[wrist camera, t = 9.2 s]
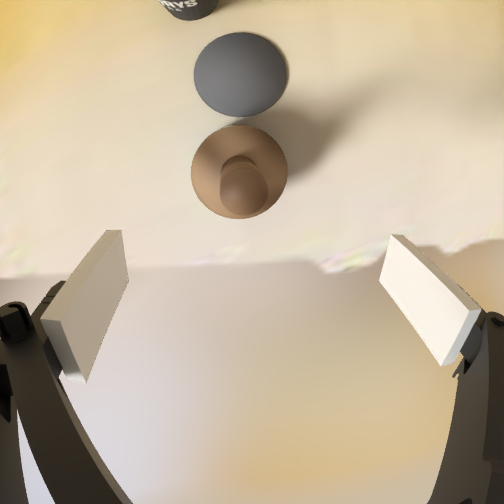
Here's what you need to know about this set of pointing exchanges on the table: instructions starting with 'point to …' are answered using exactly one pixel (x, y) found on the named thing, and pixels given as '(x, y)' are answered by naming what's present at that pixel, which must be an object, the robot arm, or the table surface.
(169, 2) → the coffee cup
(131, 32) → the table surface
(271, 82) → the mat
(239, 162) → the lid
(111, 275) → the robot arm
